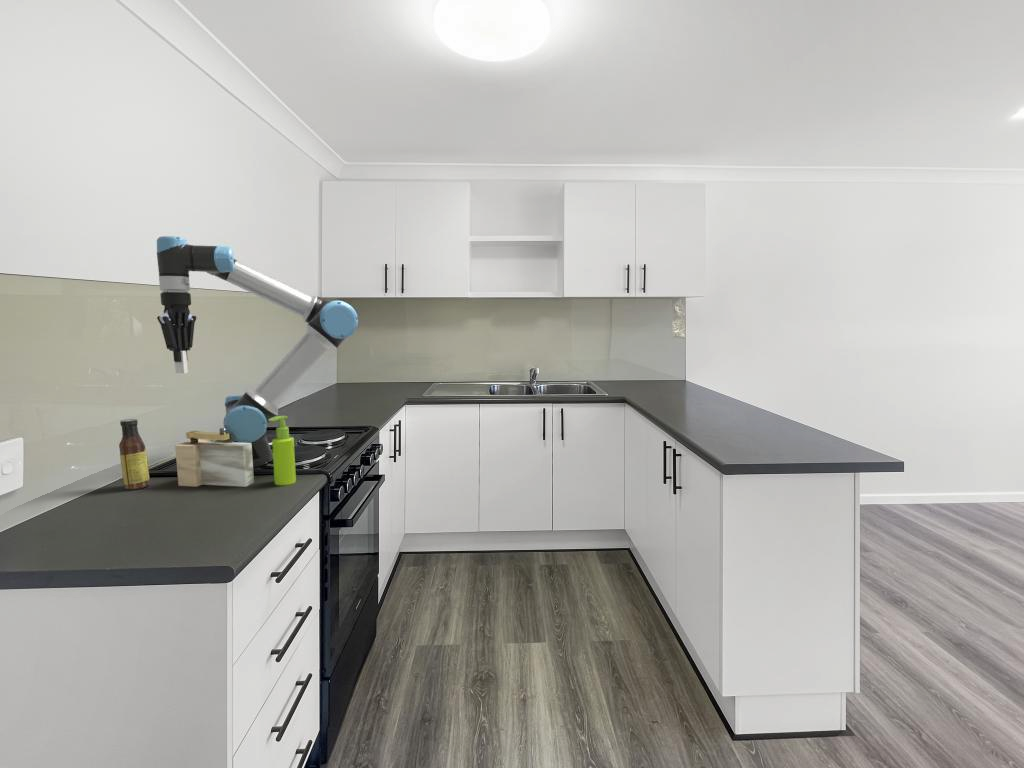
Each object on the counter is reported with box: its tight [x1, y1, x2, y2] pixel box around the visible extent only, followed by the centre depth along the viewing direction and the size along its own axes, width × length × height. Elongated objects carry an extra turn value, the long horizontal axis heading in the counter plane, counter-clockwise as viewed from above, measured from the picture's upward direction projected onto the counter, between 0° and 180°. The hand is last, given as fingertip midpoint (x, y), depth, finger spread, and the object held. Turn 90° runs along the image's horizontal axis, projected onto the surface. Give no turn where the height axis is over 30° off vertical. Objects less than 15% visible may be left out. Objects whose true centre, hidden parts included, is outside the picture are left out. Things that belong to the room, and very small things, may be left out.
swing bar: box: [185, 427, 230, 441], centre depth 163 cm, size 13×3×3 cm, turn 75°
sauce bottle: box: [118, 418, 150, 491], centre depth 160 cm, size 7×6×20 cm
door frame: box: [174, 433, 255, 488], centre depth 164 cm, size 8×20×15 cm, turn 81°
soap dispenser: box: [269, 415, 297, 486], centre depth 164 cm, size 6×7×20 cm
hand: (181, 372), depth 165 cm, fingers closed
